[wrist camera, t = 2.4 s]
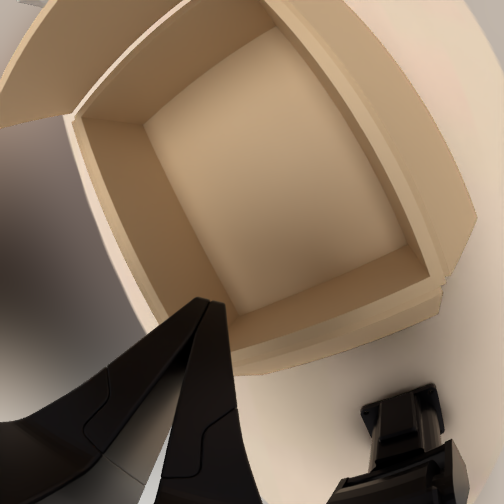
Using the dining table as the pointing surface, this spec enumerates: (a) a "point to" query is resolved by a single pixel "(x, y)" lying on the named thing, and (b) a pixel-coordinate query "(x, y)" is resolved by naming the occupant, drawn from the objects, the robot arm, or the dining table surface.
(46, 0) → the cup
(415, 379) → the dining table surface
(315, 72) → the carton
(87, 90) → the flap
